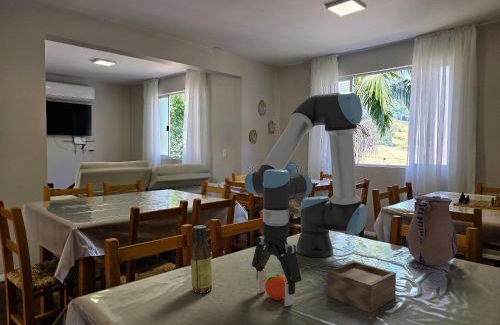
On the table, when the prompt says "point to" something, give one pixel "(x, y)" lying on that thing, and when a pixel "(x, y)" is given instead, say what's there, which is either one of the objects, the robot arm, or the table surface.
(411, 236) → the ceramic pitcher
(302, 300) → the table surface
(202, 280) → the sauce bottle
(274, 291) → the clementine
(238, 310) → the table surface
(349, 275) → the walnut tray
